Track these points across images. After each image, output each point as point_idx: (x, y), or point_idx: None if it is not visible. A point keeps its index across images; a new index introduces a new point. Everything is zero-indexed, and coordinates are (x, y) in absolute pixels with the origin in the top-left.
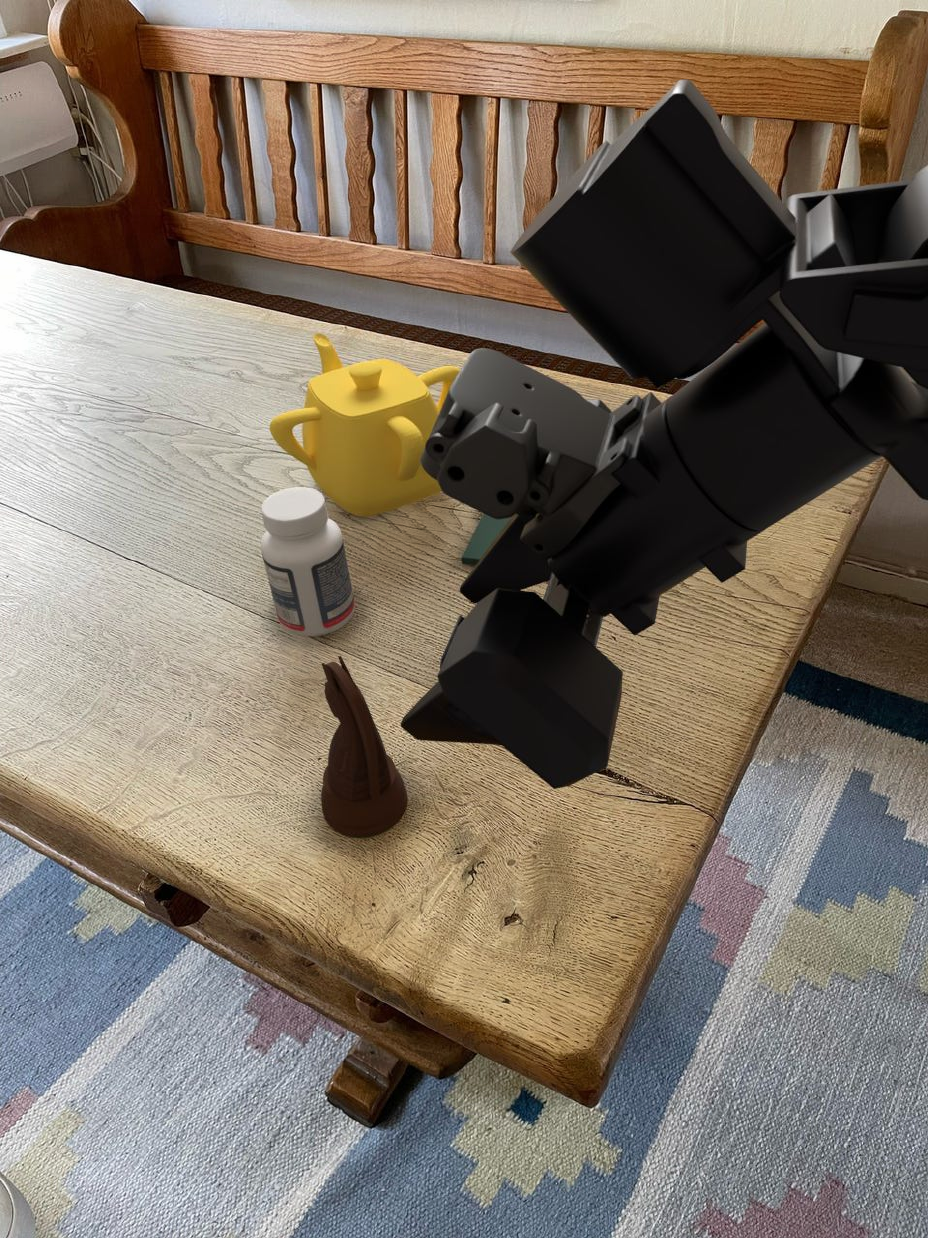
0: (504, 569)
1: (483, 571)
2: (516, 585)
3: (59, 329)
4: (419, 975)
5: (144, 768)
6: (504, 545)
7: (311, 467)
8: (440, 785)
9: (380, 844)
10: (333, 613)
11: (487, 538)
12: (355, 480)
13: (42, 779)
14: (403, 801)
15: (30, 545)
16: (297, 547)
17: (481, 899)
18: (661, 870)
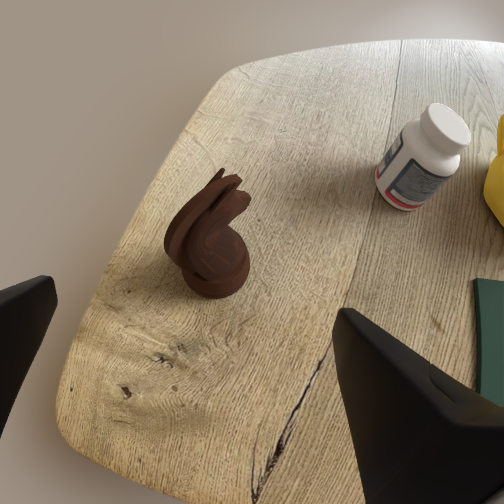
0: (363, 385)
1: (358, 345)
2: (348, 404)
3: (499, 55)
4: (81, 332)
5: (233, 120)
6: (394, 386)
7: (497, 153)
8: (244, 320)
9: (180, 285)
10: (395, 193)
11: (496, 292)
12: (501, 181)
13: (219, 82)
14: (214, 294)
15: (383, 46)
16: (420, 140)
17: (139, 369)
18: (186, 492)
